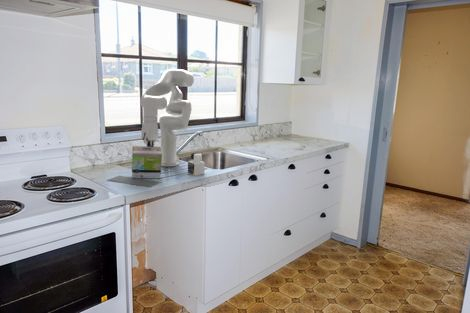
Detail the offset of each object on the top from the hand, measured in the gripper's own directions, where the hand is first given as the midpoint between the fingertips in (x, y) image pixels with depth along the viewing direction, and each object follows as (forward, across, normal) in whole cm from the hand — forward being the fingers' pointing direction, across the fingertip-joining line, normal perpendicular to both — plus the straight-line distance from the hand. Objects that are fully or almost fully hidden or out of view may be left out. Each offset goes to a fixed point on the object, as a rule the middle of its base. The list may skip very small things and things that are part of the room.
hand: (150, 152), depth 200 cm
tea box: (+11, +4, 0) cm, 12 cm away
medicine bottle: (+13, -15, +21) cm, 29 cm away
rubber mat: (+13, +15, 0) cm, 20 cm away
